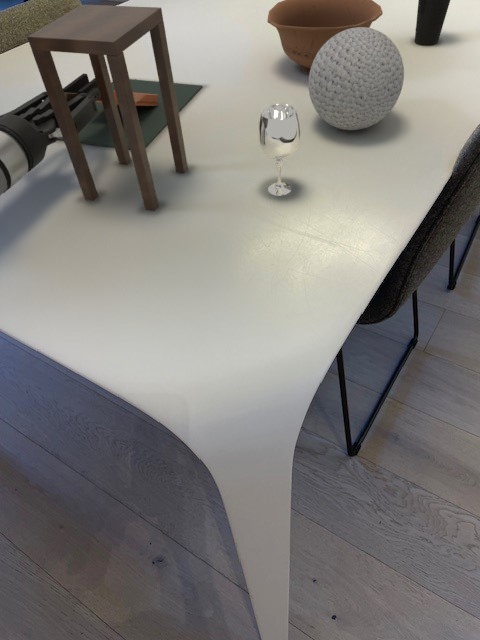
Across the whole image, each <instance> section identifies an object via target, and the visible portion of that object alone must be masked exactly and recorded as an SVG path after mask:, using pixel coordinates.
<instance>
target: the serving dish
mask: <svg viewBox="0 0 480 640" xmlns="http://www.w3.org/2000/svg"><path fill="white" fill-rule="evenodd" d="M113 92H114V96H115V100H116V104H117V105H119V104H118V100H117V96H116V92H115V91H114V90H113ZM64 94H65V97H66V100H71V99H73V98H74V97H76V96H78V95H79V94H78V93H75V92H64ZM133 96H134V100H135V105H136V106H158V95H156V94H146V93H135V92H133ZM96 102H98V103H102V100H101V97H100V98H99V99H98V100H97V101H96Z"/></svg>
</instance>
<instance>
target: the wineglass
mask: <svg viewBox="0 0 480 640" xmlns="http://www.w3.org/2000/svg"><path fill="white" fill-rule="evenodd" d="M300 141H301V127H300V121H299V116H298V112H297V109H296V107H295V106H293V105H291V104H288V103H273V104H269V105H266V106H264V107H263V108H262V109H261V111H260V116H259V120H258V126H257V142H258V146H259V149H260V151H261V152H262V153H263V154H264V155H265V156H267V157H268V158H271V159H275V165H276V170H277V182H274V183H272V184H271V185H269V186H268V188H267V191H268V193H269V194H270V195H273V196H277V197H278V196H279V197H281V196H285V195H288V194H290V193H291V192H292V186H291V185H290V184H289V183H287V182H282V168H283V164H284V161H283V159H285V158H288V157H290V156H292V155H294V154H295V152H296V151H297V149H298V148H299V145H300Z"/></svg>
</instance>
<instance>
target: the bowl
mask: <svg viewBox="0 0 480 640" xmlns="http://www.w3.org/2000/svg"><path fill="white" fill-rule="evenodd" d="M383 13H384V12H383V9H382V7H381V5H379V4H378V3H377V2H376V1H374V0H281V1H279V2H277V3H276V4H275V5H273V6H272V8H271V9H269V10H268V13H267V23H268V24H270V25H271V26H272V27H274V28H275V29H276V30H277V33H278V36H279V39H280V44H281V46H282V49H283V53H284V54H285V55H286V56H287V57H288V58H289V59H290V60H292V61H293V62H294V63H295V64H297V65H299V69H300V71H301V72H302V73H304V74H307V75H309V74H310V70H311V66H312V64H313V61H314V59H315V57H316V55H317V53H318V51H319V50H320V49H321V47H322V46H323V45H324V44H325V43H326V42H327V41H328V40H329V39H330V38H332V37H333V36H335V35H336V34H338V33H340V32H342V31H344V30H347V29H350V28H356V27H367V28H371V25H372V23H373V22H375V21H377V20H378V19H379V18H380V17H381V16H383Z"/></svg>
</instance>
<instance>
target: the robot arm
mask: <svg viewBox="0 0 480 640" xmlns="http://www.w3.org/2000/svg"><path fill="white" fill-rule="evenodd" d="M62 88H63V91H64V92H75V93H78V94H79V95H78V96H76V97H74V98H73V99H71V100H67V103H68V106H69V109H70V112H71V115H72V118H73V121H74V124H75V127H76V130H77V133H79V132H80V131H81V130H82V129H83V128H84V127H85V126H86V125H87V124H88V123H89V121H90V120H91V119H92V118H93V117H94V116H95V115H96V114H97V113H98V110H97V106H96V103H95V102H96V101H97V100H98V99H99V98H100V93H99V89H98V86H97V82H96V79H95V77H94V78H93V79H92V80H89V76H88V73H82V74H81V75H79V76H78V77H76V78H75V79H74V80H72V81H71V82H70V83H68V84H67V85H66V86H64V87H62ZM58 137H63V136H62V134H61V131H60V128H59V125H58V122H57V120H56V117H55V114H54V111H53V108H52V106H51V103H50V100H49V97H48V94H47V92H46V90H45V91H43V92H41V93H39V94H37V95H36V96H34V97H33V98H31V99H29V100H27V101H26V102H24V103H22V104H21V105H19V106H17V107H16V108H14V109H12V110H11V111H7V112H6V113H3V114H1V115H0V196H1V195H3V194H5V193H6V192H7V191H8V190H10V189H11V188H12V187H14V186H15V185H16V184H17V183H18V182H20V181H21V180H22V179H23V178H24V177H26V176H27V174H28V173H29V172H31V171H32V170H34V169H35V168H36V167H37V166H38V165H39V164H40V163H41V162H42V161H43V160H44V159H45V157H46V153H47V149H48V146H50V145H52V144H54V143H56V142H57V141H59V140H58Z"/></svg>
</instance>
